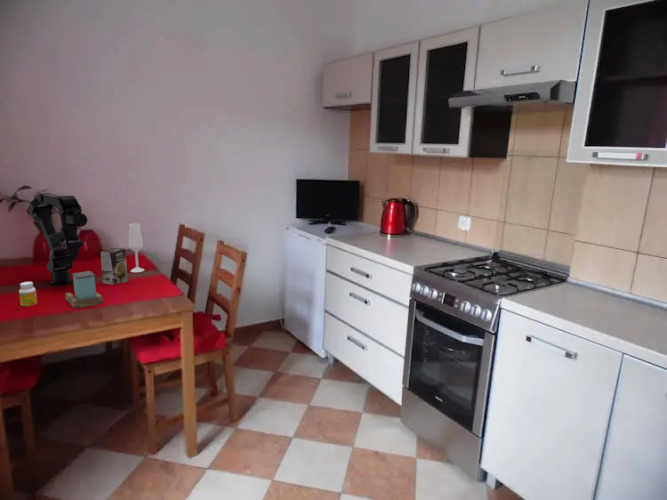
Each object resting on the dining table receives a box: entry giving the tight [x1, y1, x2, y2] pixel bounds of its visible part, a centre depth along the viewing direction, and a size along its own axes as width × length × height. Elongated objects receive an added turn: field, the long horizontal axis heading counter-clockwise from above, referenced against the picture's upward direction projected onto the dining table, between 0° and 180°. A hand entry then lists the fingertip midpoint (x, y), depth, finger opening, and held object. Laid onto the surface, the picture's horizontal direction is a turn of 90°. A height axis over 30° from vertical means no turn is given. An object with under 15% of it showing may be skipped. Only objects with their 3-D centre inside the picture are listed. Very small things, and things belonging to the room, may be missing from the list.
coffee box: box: [100, 247, 129, 285], centre depth 200 cm, size 9×6×16 cm
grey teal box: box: [71, 270, 97, 301], centre depth 173 cm, size 6×6×12 cm
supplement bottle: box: [18, 281, 38, 307], centre depth 170 cm, size 5×5×10 cm
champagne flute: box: [128, 222, 145, 273], centre depth 221 cm, size 7×7×24 cm
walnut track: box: [64, 291, 104, 310], centre depth 175 cm, size 13×11×4 cm
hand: (73, 260), depth 191 cm, fingers closed
